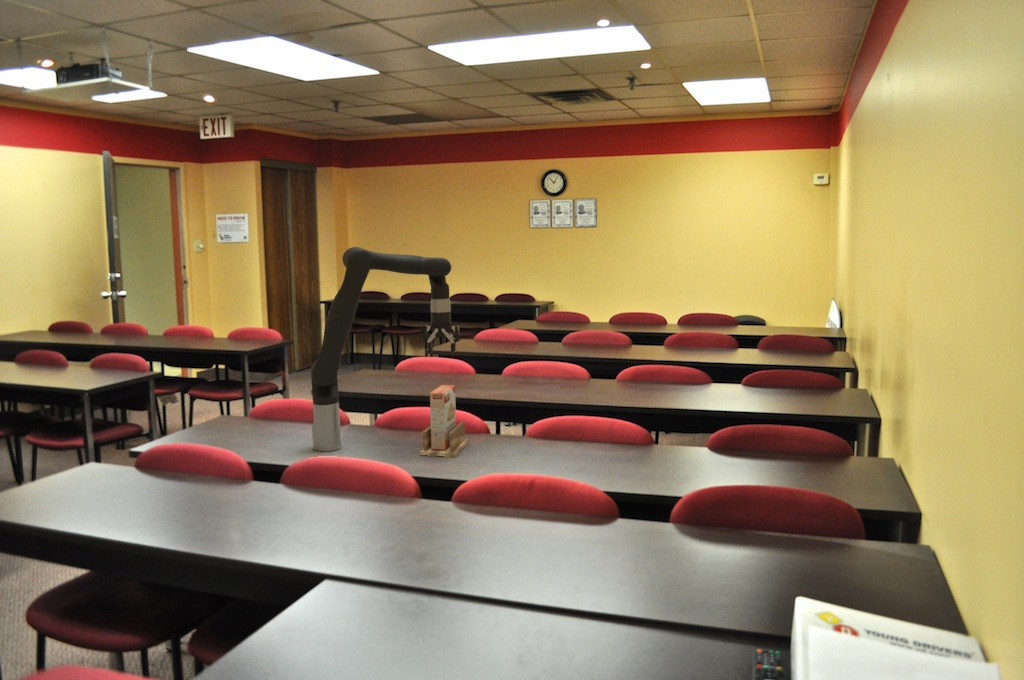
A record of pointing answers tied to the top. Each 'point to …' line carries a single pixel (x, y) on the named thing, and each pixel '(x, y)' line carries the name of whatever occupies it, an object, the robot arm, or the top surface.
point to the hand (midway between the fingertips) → (442, 352)
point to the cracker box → (442, 416)
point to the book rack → (455, 440)
